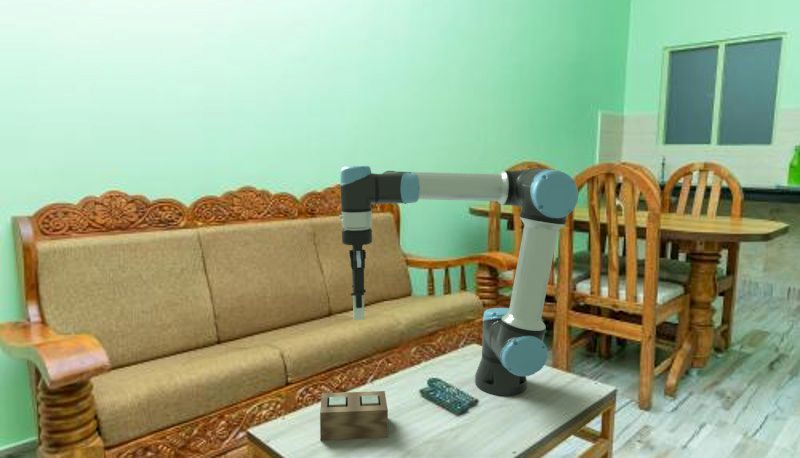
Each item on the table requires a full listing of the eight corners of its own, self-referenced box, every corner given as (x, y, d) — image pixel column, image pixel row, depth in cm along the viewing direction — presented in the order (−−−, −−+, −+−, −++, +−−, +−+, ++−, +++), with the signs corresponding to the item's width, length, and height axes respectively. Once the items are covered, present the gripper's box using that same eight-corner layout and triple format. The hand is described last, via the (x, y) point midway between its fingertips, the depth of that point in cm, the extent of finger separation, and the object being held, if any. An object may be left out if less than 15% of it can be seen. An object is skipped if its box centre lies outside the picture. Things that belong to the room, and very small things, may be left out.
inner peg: (377, 418, 132) (377, 395, 131) (378, 426, 128) (378, 402, 127) (361, 418, 131) (361, 395, 130) (362, 427, 127) (362, 403, 126)
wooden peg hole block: (384, 416, 135) (384, 391, 134) (387, 437, 125) (387, 410, 124) (322, 418, 133) (321, 393, 132) (320, 440, 123) (320, 412, 122)
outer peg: (345, 419, 131) (345, 396, 130) (345, 427, 127) (345, 404, 126) (329, 420, 130) (329, 396, 129) (329, 428, 126) (329, 404, 125)
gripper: (340, 224, 136) (343, 311, 139) (342, 232, 123) (345, 328, 126) (369, 223, 137) (371, 310, 140) (374, 231, 124) (375, 326, 127)
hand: (359, 318), depth 133 cm, fingers closed
